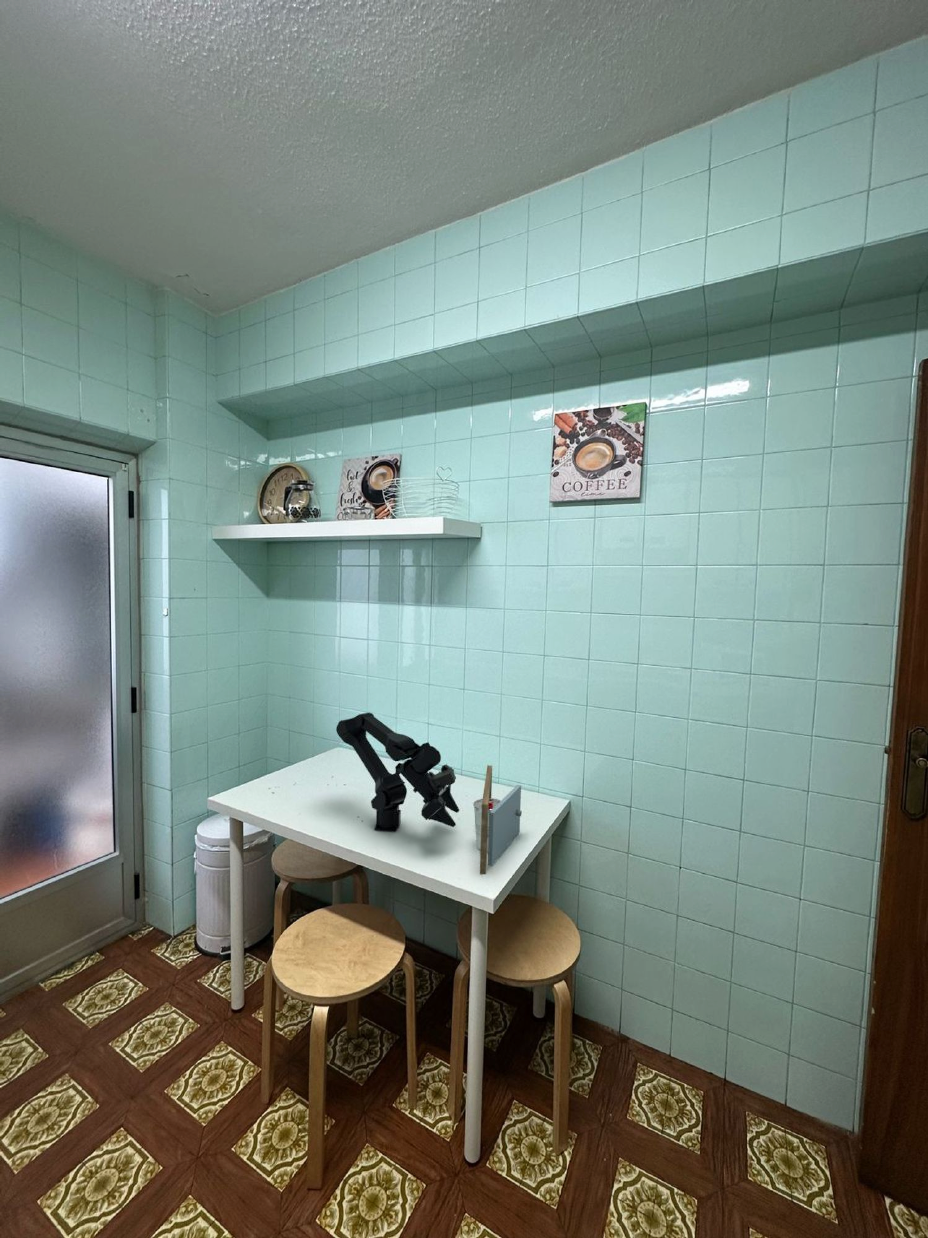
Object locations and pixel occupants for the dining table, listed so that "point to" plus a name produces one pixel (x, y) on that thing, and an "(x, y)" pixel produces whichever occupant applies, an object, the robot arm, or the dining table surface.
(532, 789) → the dining table surface
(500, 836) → the door
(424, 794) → the robot arm
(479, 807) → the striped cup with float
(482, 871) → the door frame
